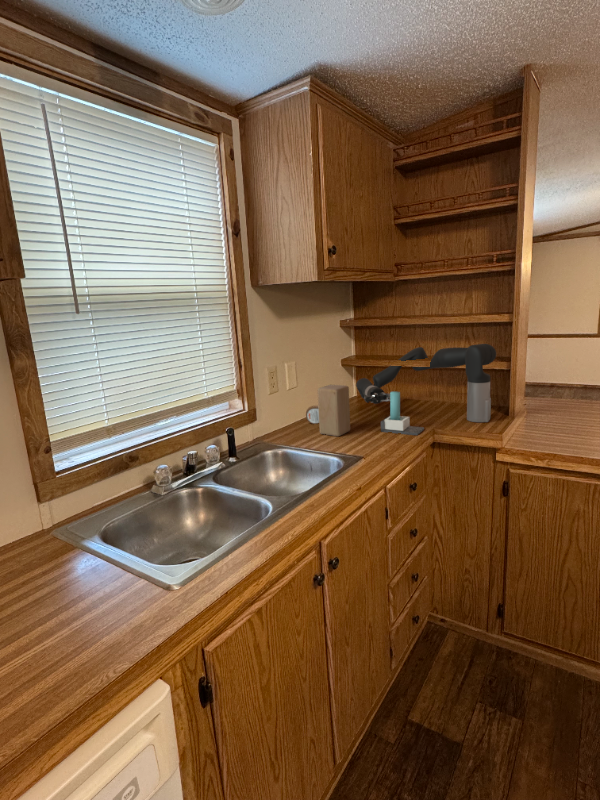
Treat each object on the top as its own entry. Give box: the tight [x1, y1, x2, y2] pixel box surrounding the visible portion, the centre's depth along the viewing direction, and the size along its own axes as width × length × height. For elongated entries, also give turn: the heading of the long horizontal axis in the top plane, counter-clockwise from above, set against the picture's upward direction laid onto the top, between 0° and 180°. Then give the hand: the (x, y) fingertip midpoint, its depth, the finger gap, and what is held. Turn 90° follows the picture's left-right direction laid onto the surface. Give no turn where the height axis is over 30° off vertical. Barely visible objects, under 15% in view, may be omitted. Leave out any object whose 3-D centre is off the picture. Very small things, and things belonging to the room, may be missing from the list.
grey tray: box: [380, 416, 425, 436], centre depth 188 cm, size 16×9×4 cm, turn 58°
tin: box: [305, 405, 319, 425], centre depth 208 cm, size 15×3×8 cm, turn 84°
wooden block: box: [317, 384, 351, 437], centre depth 190 cm, size 10×10×20 cm
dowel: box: [389, 390, 401, 420], centre depth 189 cm, size 4×4×14 cm
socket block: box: [384, 415, 411, 431], centre depth 189 cm, size 8×8×4 cm
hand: (385, 400), depth 199 cm, fingers open, 8 cm apart
